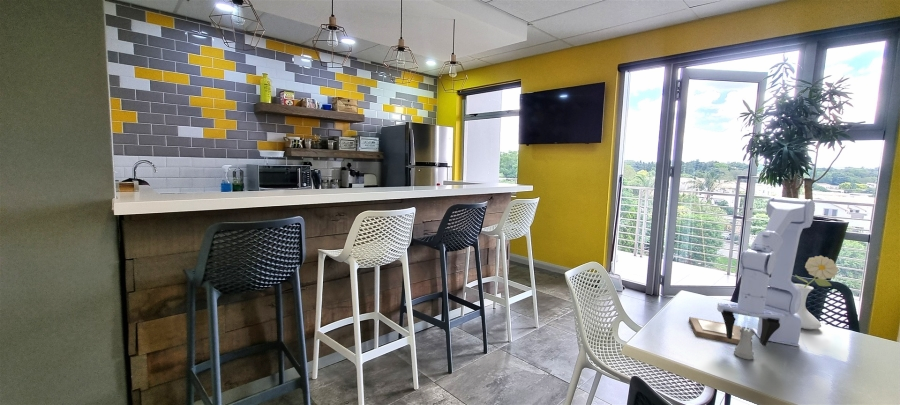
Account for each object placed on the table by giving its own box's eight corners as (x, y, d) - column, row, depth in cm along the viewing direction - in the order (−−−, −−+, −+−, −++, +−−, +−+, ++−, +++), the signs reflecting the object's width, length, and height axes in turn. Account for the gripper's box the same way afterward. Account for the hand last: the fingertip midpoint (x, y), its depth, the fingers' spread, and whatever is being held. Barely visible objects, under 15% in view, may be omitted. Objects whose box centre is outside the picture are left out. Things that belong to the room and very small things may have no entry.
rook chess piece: (757, 361, 102) (761, 333, 101) (738, 358, 103) (742, 331, 102) (747, 353, 106) (751, 326, 105) (730, 350, 107) (733, 324, 106)
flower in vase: (772, 323, 128) (783, 252, 125) (777, 315, 135) (788, 248, 132) (826, 338, 118) (839, 261, 115) (828, 328, 126) (841, 256, 123)
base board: (739, 330, 121) (740, 325, 121) (751, 346, 110) (752, 341, 110) (688, 321, 126) (689, 316, 126) (695, 335, 116) (696, 330, 115)
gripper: (724, 293, 101) (717, 340, 103) (792, 303, 96) (784, 353, 97) (718, 285, 108) (711, 330, 109) (781, 295, 102) (774, 342, 104)
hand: (745, 340), depth 104 cm, fingers open, 7 cm apart
